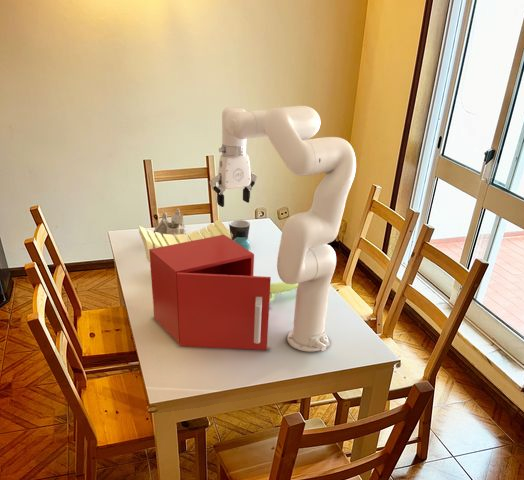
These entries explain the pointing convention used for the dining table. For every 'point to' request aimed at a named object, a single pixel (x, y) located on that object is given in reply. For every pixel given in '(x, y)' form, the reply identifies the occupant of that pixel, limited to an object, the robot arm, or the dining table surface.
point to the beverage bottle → (242, 238)
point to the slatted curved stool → (180, 236)
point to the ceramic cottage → (171, 225)
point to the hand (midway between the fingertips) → (233, 203)
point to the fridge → (192, 271)
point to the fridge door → (223, 310)
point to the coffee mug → (236, 225)
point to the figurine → (280, 288)
